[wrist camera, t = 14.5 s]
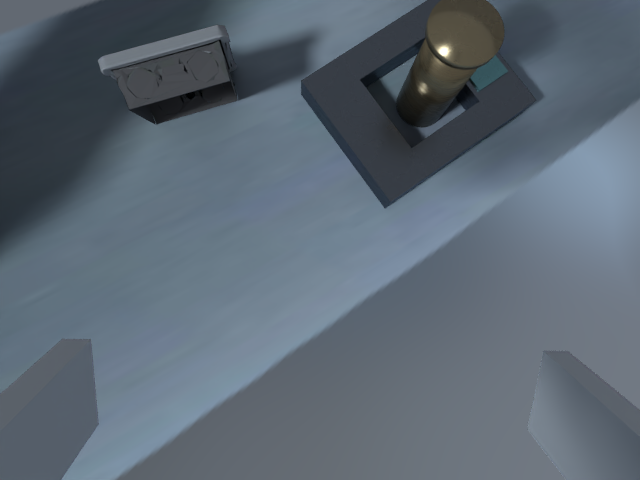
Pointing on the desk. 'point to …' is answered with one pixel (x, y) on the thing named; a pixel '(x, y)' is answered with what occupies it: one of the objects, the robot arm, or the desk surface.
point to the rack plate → (377, 129)
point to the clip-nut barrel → (449, 57)
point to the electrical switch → (175, 74)
